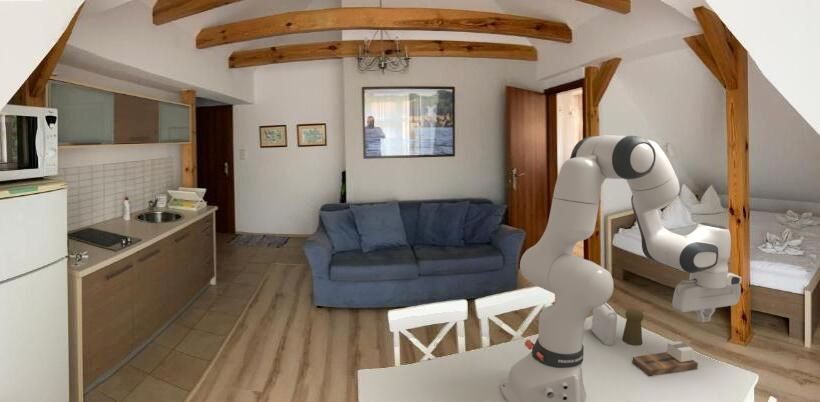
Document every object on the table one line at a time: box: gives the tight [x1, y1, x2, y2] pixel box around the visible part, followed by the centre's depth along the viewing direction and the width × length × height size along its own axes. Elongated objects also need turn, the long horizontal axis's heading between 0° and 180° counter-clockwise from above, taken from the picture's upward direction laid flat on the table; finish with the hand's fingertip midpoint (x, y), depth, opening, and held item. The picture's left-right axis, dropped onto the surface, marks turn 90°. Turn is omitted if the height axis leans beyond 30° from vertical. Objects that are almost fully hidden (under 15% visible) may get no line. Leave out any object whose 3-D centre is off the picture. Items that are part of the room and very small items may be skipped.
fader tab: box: [666, 340, 694, 362], centre depth 121 cm, size 4×5×4 cm
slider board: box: [632, 351, 699, 377], centre depth 121 cm, size 16×7×2 cm, turn 101°
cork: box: [621, 308, 644, 347], centre depth 134 cm, size 6×6×11 cm
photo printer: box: [591, 302, 618, 346], centre depth 136 cm, size 10×4×12 cm, turn 1°
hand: (703, 321), depth 121 cm, fingers closed
